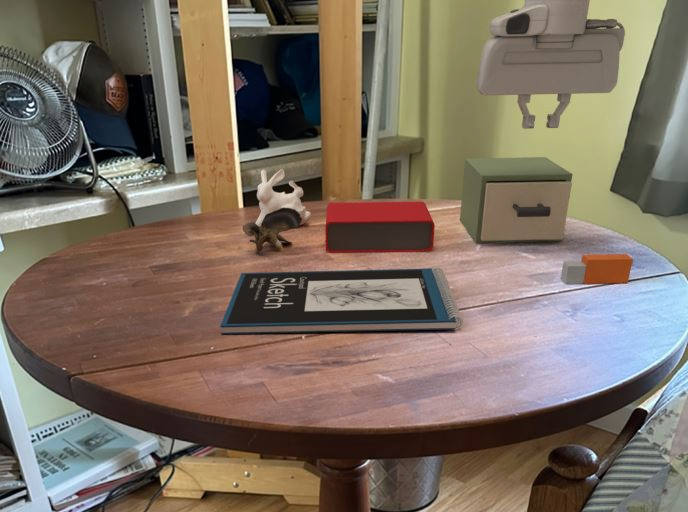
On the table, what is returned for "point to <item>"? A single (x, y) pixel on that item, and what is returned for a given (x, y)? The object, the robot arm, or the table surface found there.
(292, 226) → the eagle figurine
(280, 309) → the sketchbook
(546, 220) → the drawer
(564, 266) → the orange and grey block
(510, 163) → the cabinet
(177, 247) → the table surface
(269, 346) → the table surface
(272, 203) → the rabbit figurine
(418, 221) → the red device housing
